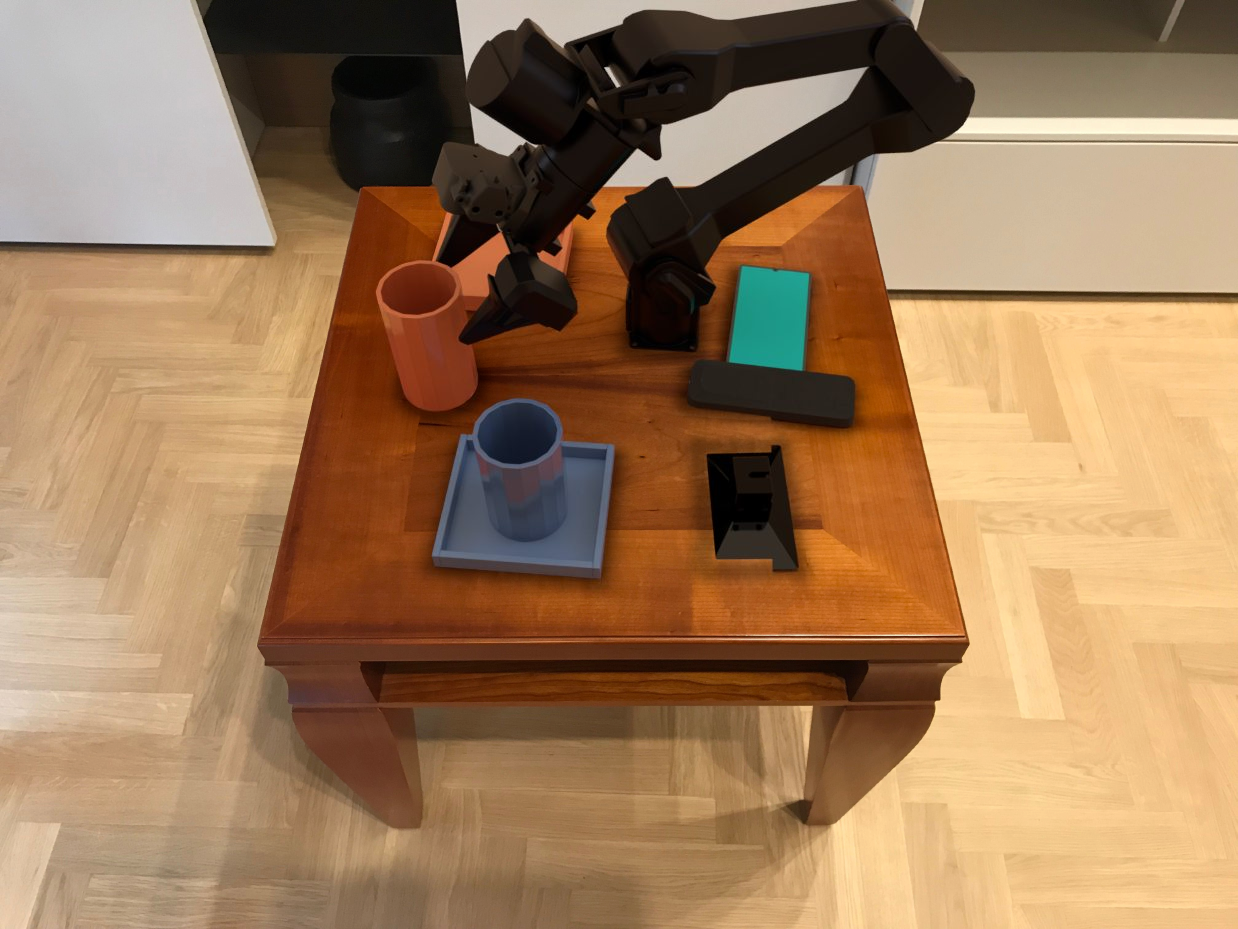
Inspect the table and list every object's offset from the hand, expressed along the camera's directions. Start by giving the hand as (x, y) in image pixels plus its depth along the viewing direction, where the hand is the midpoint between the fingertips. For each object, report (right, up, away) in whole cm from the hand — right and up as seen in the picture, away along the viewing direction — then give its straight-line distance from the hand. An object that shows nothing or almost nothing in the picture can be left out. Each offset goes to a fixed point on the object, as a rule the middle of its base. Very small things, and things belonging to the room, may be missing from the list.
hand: (450, 304), depth 79 cm
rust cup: (-2, -6, +7) cm, 10 cm away
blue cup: (+7, -17, -2) cm, 18 cm away
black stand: (+25, -17, -1) cm, 30 cm away
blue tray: (+7, -17, -1) cm, 19 cm away
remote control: (+28, -7, +6) cm, 29 cm away
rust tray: (+2, +6, +16) cm, 18 cm away
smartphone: (+29, 0, +11) cm, 31 cm away
